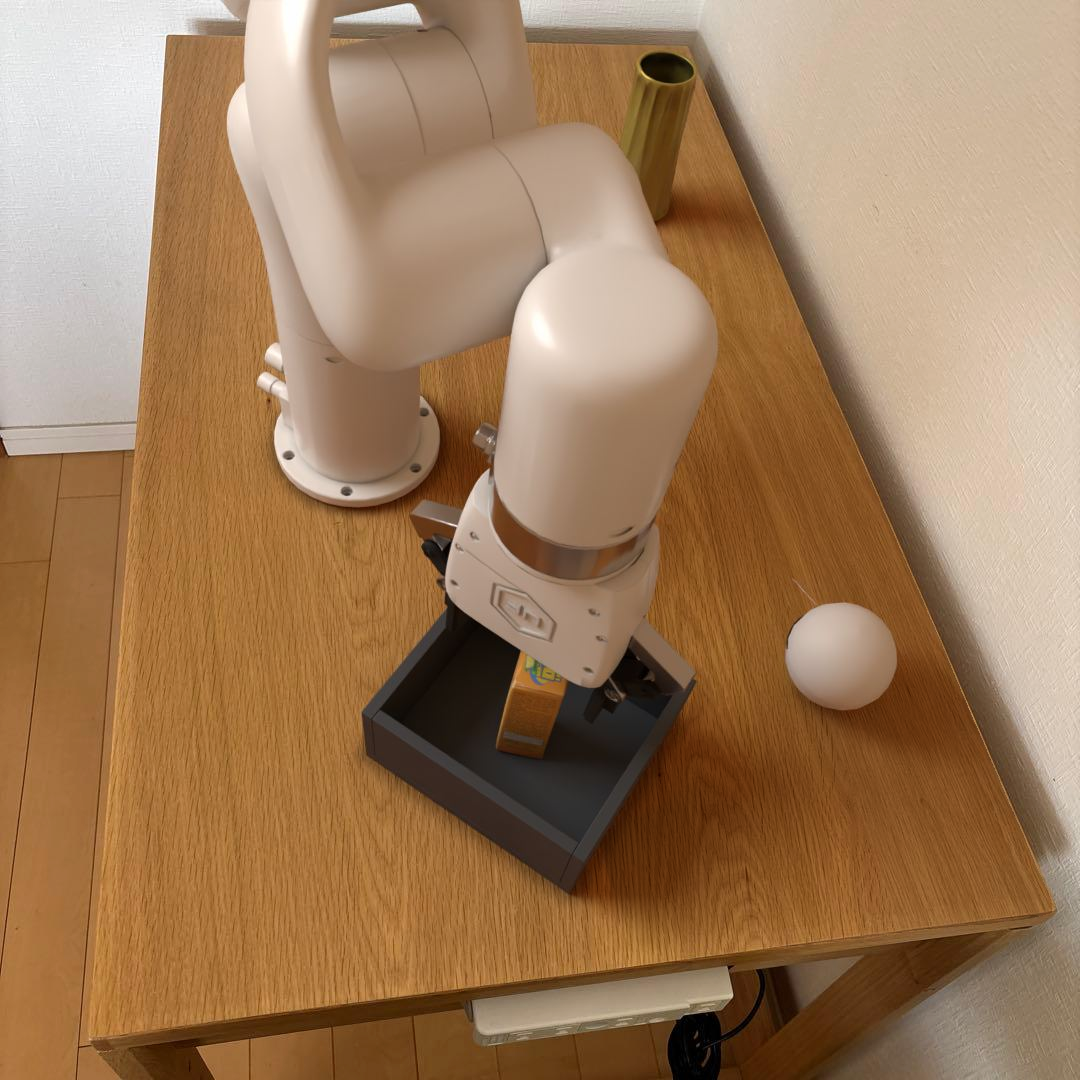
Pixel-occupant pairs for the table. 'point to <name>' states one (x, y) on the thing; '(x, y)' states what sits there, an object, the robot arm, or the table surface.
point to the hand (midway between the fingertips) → (531, 656)
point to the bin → (504, 778)
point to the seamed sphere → (840, 655)
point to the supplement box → (530, 708)
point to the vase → (658, 122)
